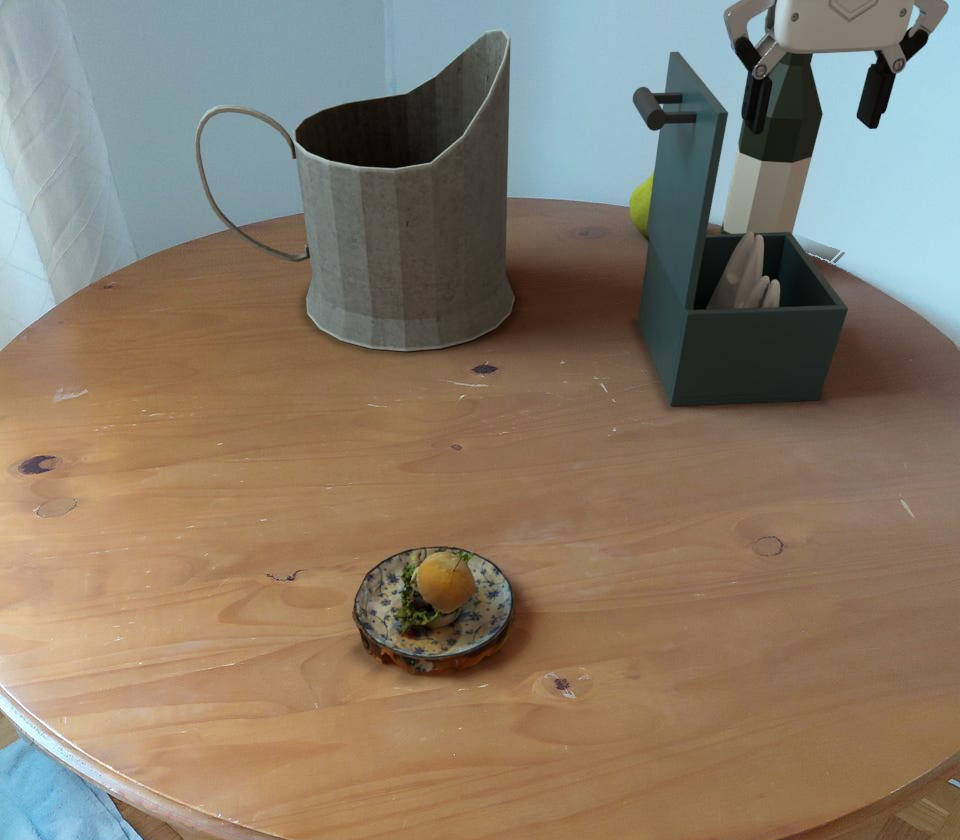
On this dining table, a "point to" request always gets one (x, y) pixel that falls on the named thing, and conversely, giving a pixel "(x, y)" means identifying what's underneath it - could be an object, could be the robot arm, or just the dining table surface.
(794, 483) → the dining table surface
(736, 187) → the wine bottle
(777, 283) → the shaker set
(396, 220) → the pitcher
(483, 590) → the burger
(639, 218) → the fruit
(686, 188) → the lid
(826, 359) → the chest
